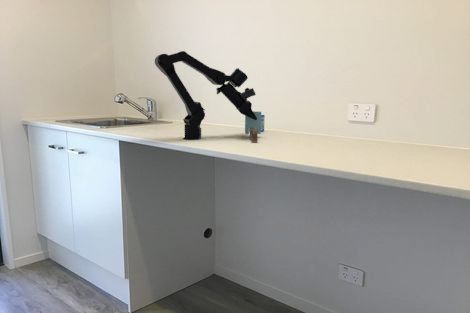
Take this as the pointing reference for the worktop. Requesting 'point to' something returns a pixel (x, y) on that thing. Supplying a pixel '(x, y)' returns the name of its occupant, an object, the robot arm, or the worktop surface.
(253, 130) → the brown stepped bar
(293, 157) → the worktop surface
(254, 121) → the teal plate
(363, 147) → the worktop surface
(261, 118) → the medicine box
